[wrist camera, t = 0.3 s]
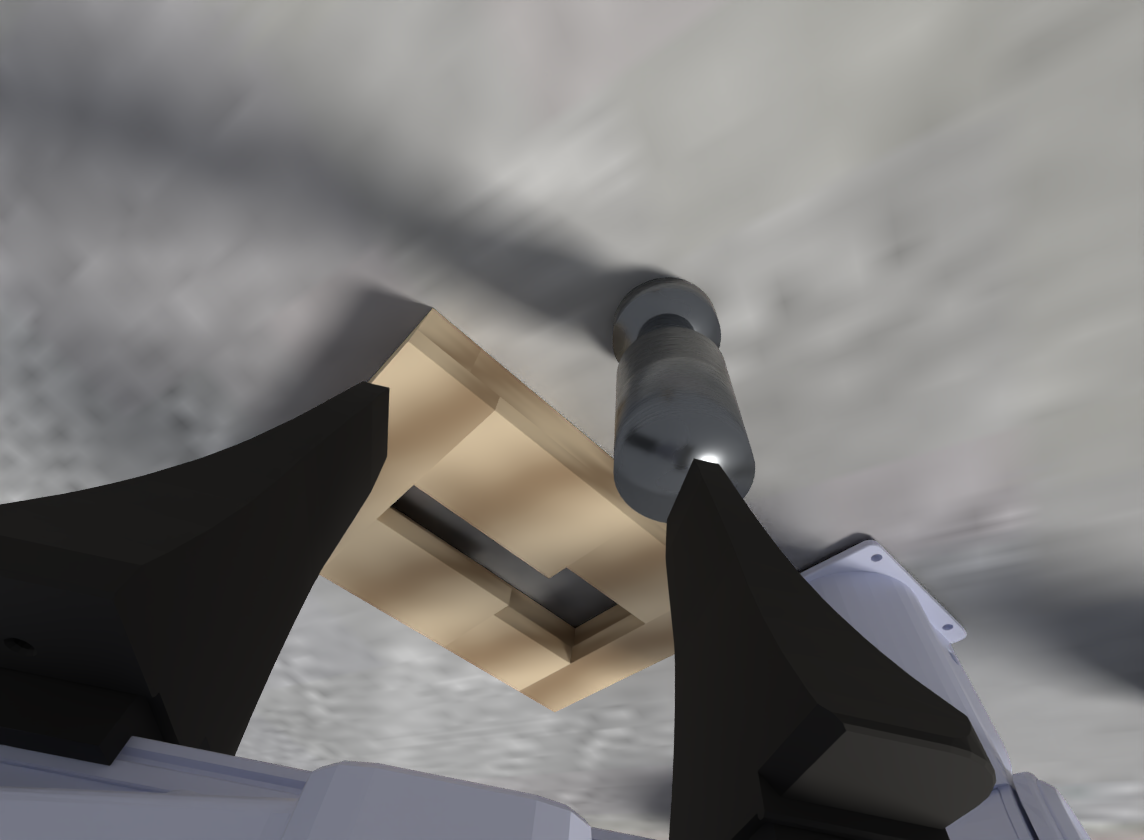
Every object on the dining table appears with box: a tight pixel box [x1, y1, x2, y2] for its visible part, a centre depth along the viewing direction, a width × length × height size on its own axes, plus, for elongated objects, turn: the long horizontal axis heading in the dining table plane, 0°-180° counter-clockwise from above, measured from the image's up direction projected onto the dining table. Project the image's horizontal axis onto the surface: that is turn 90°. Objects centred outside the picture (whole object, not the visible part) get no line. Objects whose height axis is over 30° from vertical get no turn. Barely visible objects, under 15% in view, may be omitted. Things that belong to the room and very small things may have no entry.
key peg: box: [613, 278, 755, 523], centre depth 18 cm, size 4×4×9 cm
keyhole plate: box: [319, 308, 675, 712], centre depth 27 cm, size 20×14×3 cm
